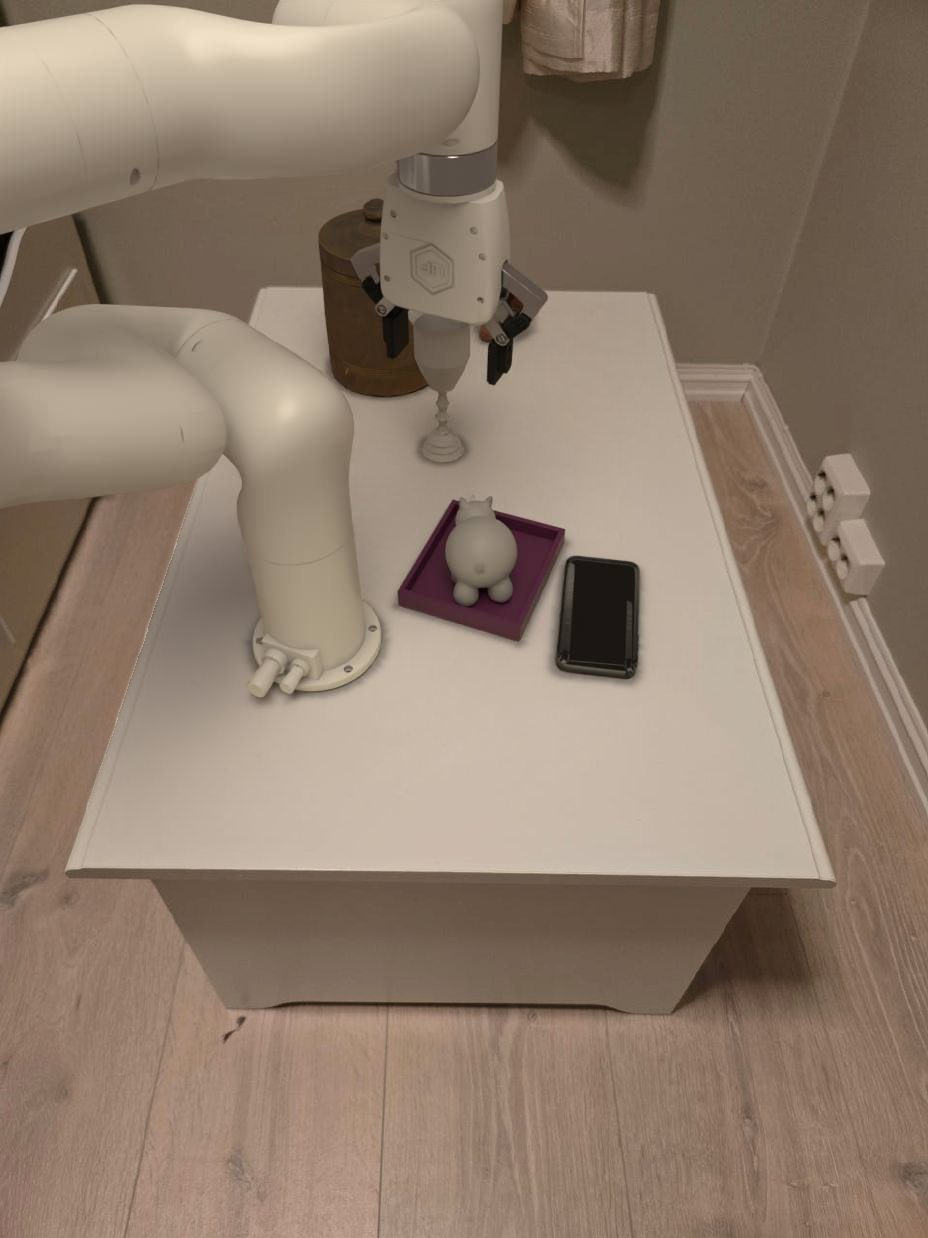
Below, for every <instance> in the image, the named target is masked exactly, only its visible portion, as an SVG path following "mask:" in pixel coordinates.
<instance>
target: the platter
mask: <svg viewBox="0 0 928 1238" xmlns="http://www.w3.org/2000/svg"><path fill="white" fill-rule="evenodd" d="M459 508H460V507H459V500H457V499H452V500H451V502H450V503H449V505H448V506H447V508H446V510H445V511H444V513H443V515H442V516H441V518H440V519H439V521H438V523H437V524H436V526H435V528H434V530H433V532H432V533H431V535H430V536H429V538H428V540H427V541H426V543H425V545H424V546H423V547H422V550H421V552H420V553H419V555H418V556H417V558H416V559H415V561H414V563H413V565H412V566H411V568H410V570H409V571H408V573H407V574H406V576H405V578H404V580H403V582H402V583H401V584H400V587H398V589H397V603H398V607H402V608H405V609H409V610H411V611H415V612H418V613H422V614H424V615H427V616H432V617H435V618H439V619H441V620H444V621H445V620H446V621H450V622H452V623H455V624H459V625H462V626H466V627H468V628H472V629H475V630H478V631H482V632H486V633H489V634H492V635H496V636H498V637H501V638H502V637H503V638H505V639H509V640H512V641H515V642H520V641H521V639H522V637H523V635H524V633H525V630H526V628H527V626H528V623H529V621H530V619H531V617H532V615H533V612H534V610H535V608H536V606H537V604H538V603H539V602H538V601H539V599H540V597H541V594H542V592H543V591H544V588H545V586H546V584H547V581H548V580H549V577H550V575H551V573H552V571H553V568H554V566H555V564H556V562H557V559H558V558H559V555H560V553H561V551H562V549H563V546H564V544H565V537H566V528H562V527H559V526H555V525H552V524H548V523H545V522H544V523H543V522H540V521H537V520H533V519H529V518H525V517H521V516H517V515H513V514H510V513H507V512H504V511H503V512H502V511H498V510H494V509H493V511H494V513H495V517H496V519H497V520H499V521H500V522H502V523H503V524H504V525H506V526H507V527H508V529H509V530H510V531H511V533H512V534H513V536H514V538H515V541H516V545H517V559H516V563H515V565H514V568H513V570H512V571H511V573H510V574H509V578H510V580H511V582H512V586H513V594H512V596H511V598H510V599H509V600H508V601H506V602H503V603H500V602H495V601H493V600H492V599H491V598H490V597H489V595H488V588H478V590H479V597H478V600H477V602H476V603H475V604H474V605H472V606H468V607H465V606H461V605H459V604H457V603H456V602H455V600H454V598H453V591H454V587H455V585H456V583H455V582H453V580H452V578H451V571H450V569H449V567H448V564H447V561H446V556H445V548H446V543H447V540H448V537H449V535H450V533H451V532H452V530H453V529H454V528H455V527H456V523H455V519H456V514H457V512H458V510H459Z"/></svg>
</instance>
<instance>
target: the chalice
mask: <svg viewBox="0 0 928 1238" xmlns="http://www.w3.org/2000/svg"><path fill="white" fill-rule="evenodd" d="M408 319H409V320H410V322H411V323H412V325H413V333H414V357H415V360H416V362H417V364H418V367H419V369H420V371H421V373H422V375H423V376H424V378H425V379H426V381H427V383H428V384H427V385H428V386H429V388H430V390H432V391H434V392H436V393H437V394H438V395H437V399H436V401H435V403H434V404H435V405H436V406H437V410H438V411H437V413H436V414H435V415H434V417H435V420H437V422H438V427H436V428H434V429H432V430H431V432H429V433H428V435H427V437H426V439H425V441H424V444H423V445H422V448H421V452H422V455H424V457H425V458H426V459H428V460H429V461H432V462H434V463H440V464H441V463H451V462H454V461H456V460H458V459H460V458H461V457H462V456H463V454H464V450H465V448H464V446H463V444H462V441H461V440H460V438H459V435H458V434H457V432H455V430H454V429H452V428H450V427H448V425H447V424H448V421H449V420H450V419H451V414H449V413H448V407H449V405H450V401H449V399H448V396H447V394H448V393H449V392H452V391H453V390H454V389H455V387H456V385H457V384H458V383H459V381H460V379H461V377H462V376H463V374H464V371H465V369H466V368H467V364H468V362H469V360H470V357H471V326H472V324H467V323H462V322H458V321H454V320H449V319H445V318H441V317H437V316H433V315H429V314H425V313H421V312H417V311H413V310H409V311H408Z"/></svg>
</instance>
